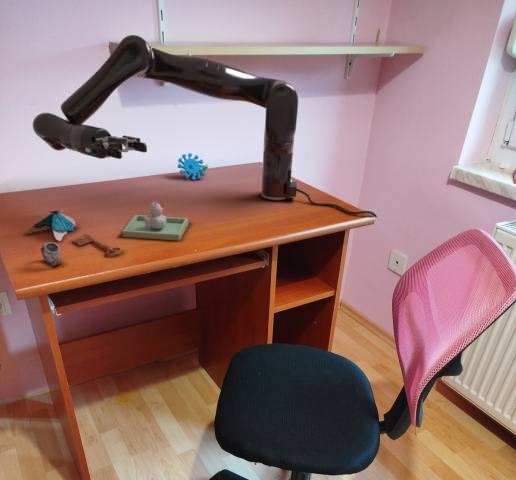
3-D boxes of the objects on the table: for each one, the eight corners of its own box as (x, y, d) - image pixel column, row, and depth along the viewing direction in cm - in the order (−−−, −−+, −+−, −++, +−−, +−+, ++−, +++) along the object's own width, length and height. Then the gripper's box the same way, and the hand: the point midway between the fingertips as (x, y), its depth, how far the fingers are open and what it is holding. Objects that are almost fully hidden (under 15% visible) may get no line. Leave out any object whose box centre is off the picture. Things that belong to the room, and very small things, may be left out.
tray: (188, 223, 135) (188, 218, 134) (179, 240, 125) (179, 234, 124) (136, 220, 136) (135, 214, 135) (122, 236, 126) (122, 230, 125)
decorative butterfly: (84, 212, 128) (56, 215, 119) (84, 237, 130) (57, 241, 121) (53, 206, 131) (24, 208, 122) (54, 230, 133) (25, 234, 124)
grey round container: (53, 269, 110) (48, 248, 107) (39, 260, 113) (34, 240, 110) (67, 264, 112) (63, 244, 109) (53, 256, 115) (48, 236, 112)
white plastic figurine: (171, 229, 130) (169, 199, 126) (150, 234, 127) (147, 204, 122) (160, 223, 134) (158, 194, 129) (139, 228, 130) (136, 199, 125)
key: (72, 242, 123) (104, 260, 114) (71, 238, 122) (103, 257, 114) (92, 234, 126) (124, 252, 118) (91, 231, 125) (124, 248, 117)
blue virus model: (180, 177, 165) (176, 150, 166) (176, 186, 170) (172, 160, 172) (210, 179, 169) (207, 153, 171) (206, 187, 175) (202, 162, 176)
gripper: (65, 130, 122) (109, 140, 115) (109, 122, 132) (152, 130, 125) (71, 160, 127) (114, 172, 119) (113, 150, 136) (155, 160, 129)
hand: (133, 151), depth 122 cm, fingers open, 8 cm apart
